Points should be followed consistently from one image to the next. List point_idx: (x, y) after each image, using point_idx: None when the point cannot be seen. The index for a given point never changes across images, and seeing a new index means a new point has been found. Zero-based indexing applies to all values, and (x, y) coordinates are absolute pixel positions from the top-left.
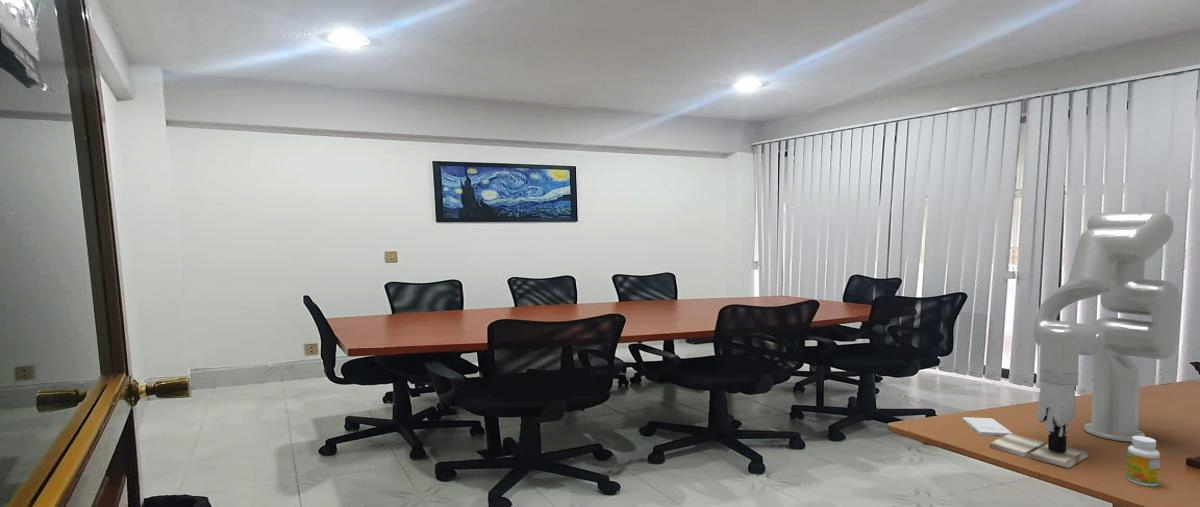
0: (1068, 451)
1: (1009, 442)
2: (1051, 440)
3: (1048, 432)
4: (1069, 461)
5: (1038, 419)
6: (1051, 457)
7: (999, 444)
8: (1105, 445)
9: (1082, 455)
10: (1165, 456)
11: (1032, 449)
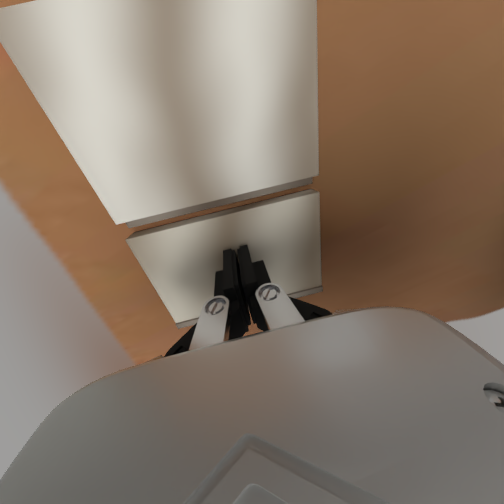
0: (275, 273)
1: (147, 87)
2: (214, 289)
3: (201, 311)
4: (187, 325)
5: (31, 440)
6: (169, 289)
7: (49, 80)
8: (455, 238)
9: None
10: (441, 313)
11: (189, 205)
